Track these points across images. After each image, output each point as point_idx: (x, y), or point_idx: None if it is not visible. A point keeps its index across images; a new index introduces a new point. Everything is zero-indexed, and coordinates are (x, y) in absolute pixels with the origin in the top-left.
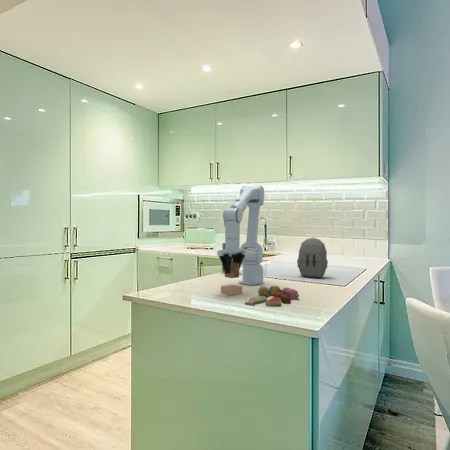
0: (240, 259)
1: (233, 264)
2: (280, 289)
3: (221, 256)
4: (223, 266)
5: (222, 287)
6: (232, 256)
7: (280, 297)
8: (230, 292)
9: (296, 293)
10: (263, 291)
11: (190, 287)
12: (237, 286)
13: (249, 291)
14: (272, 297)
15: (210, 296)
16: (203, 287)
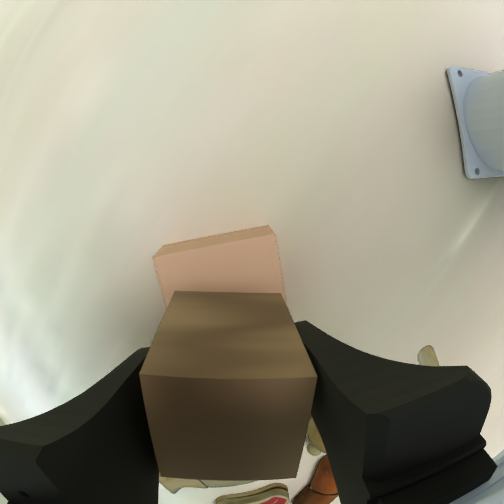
0: (342, 500)
1: (204, 474)
2: None
3: (10, 487)
4: (101, 384)
5: (159, 274)
6: (353, 420)
7: (307, 496)
8: None
9: None
10: (315, 447)
11: (98, 9)
12: None
13: (352, 305)
14: (277, 495)
15: (68, 295)
16: (164, 34)
